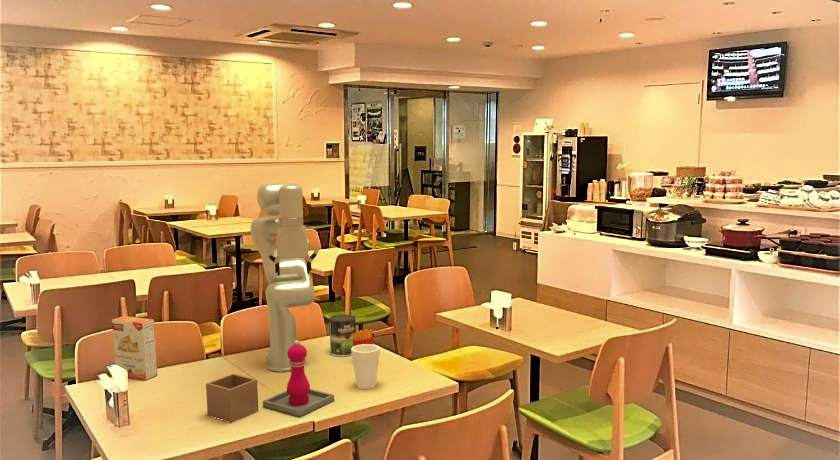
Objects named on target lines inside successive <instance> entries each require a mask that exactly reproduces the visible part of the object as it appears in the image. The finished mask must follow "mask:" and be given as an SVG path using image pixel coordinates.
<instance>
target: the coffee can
mask: <svg viewBox="0 0 840 460" xmlns="http://www.w3.org/2000/svg"><path fill="white" fill-rule="evenodd" d="M356 319H357V318H356V315H351V314H337V315H332V316H330V317H329V318H328V320H329V351H330V352H329V354H330V356H332V357H339V358H340V357H341V358H342V357H343V358H345V357H346V358H347V357H352V356H351V348H352V347H354V346H353V336H352V334H353V333H356V332H357V329H356V328H357V327H356V324H357V323H356Z"/></svg>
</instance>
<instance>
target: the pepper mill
mask: <svg viewBox="0 0 840 460" xmlns="http://www.w3.org/2000/svg"><path fill="white" fill-rule="evenodd" d="M300 343H301V341H299V340H298V339H297V340H296V341H294V345H293V346H291V347H290V348H289V349H288V353H287V355H288V358H289V359H290V361H289V362H290V364H289V365H290V366H291V372H290V378H289V379H288V382H287V384H286V391H287V393H288V394H289V395H290V396H289V404H291V405H295V406H299V405H304V404H307V403H308V402H309V395H307V394H308V392H309V391H310V389H311V385H310V383H309V379H308V377H307V375H306V373H305V366H306V364H307V363H306V359H305V358H307V356H308V350H307V348H306V347H305V346H304V345H303V344H300Z"/></svg>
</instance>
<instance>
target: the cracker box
mask: <svg viewBox="0 0 840 460" xmlns="http://www.w3.org/2000/svg"><path fill="white" fill-rule="evenodd" d="M154 321H155V320H154V319H152V318H146V317H145V318H143V317H137V316H136V317H135V316H126V315H122V316H120V317H116V318H113V319H111V324H112V340H113V350H114V351H113V353H114V366H115V365H118V366H120V367H122V368H124V369H126V370H127V372H128V377H129V378H130V379H136V380H141V381H148V380H151V379H152V378H154V377H157V376H158V366H157V351H156V350H157V349H156V337H155V336H156V335H155V322H154ZM128 377H127V378H128Z"/></svg>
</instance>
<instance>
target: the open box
mask: <svg viewBox="0 0 840 460" xmlns="http://www.w3.org/2000/svg"><path fill="white" fill-rule="evenodd" d="M205 390H206V409H207V412H206V413H207V416H208V415H209V416H208V417H211V416H213V417H212V418H214V417H216V418H215V419H217V418H219V419H218V420H220V419H223V420H222V421H224V420H225V422H227V421H228V422H227V423H230V422H231V424H233V423H235V422H237V421H239V420H241V418H242V419H243V418H244V419H245V418H246V417H248V416H251V415H253V414H254V413H258V412H259V394H258V393H259V392H258V379H256V378H252V377H249V376H245V375H241V374H237V373H230V374H229V375H226V376H223V377H220V378H218V379H214V380H212V381H209V382H206V383H205ZM236 420H237V421H236ZM234 421H235V422H234ZM232 422H233V423H232Z"/></svg>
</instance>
